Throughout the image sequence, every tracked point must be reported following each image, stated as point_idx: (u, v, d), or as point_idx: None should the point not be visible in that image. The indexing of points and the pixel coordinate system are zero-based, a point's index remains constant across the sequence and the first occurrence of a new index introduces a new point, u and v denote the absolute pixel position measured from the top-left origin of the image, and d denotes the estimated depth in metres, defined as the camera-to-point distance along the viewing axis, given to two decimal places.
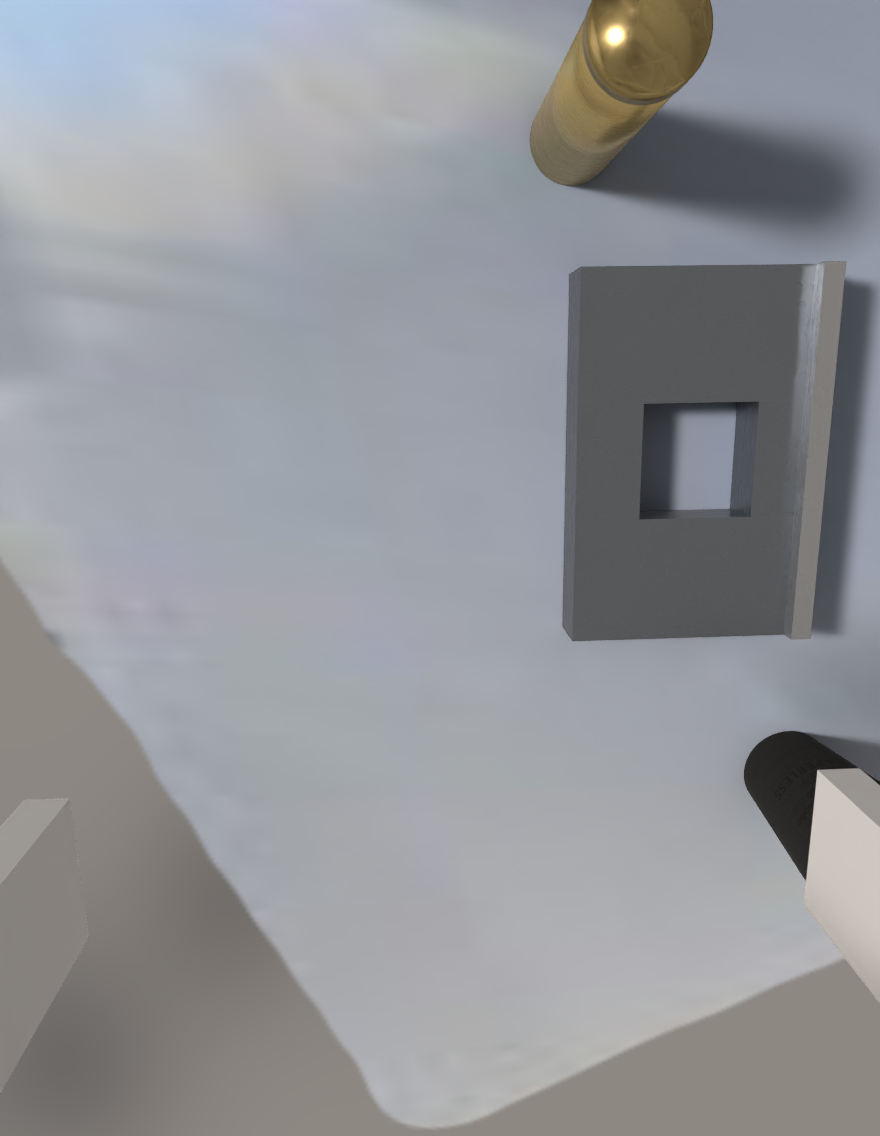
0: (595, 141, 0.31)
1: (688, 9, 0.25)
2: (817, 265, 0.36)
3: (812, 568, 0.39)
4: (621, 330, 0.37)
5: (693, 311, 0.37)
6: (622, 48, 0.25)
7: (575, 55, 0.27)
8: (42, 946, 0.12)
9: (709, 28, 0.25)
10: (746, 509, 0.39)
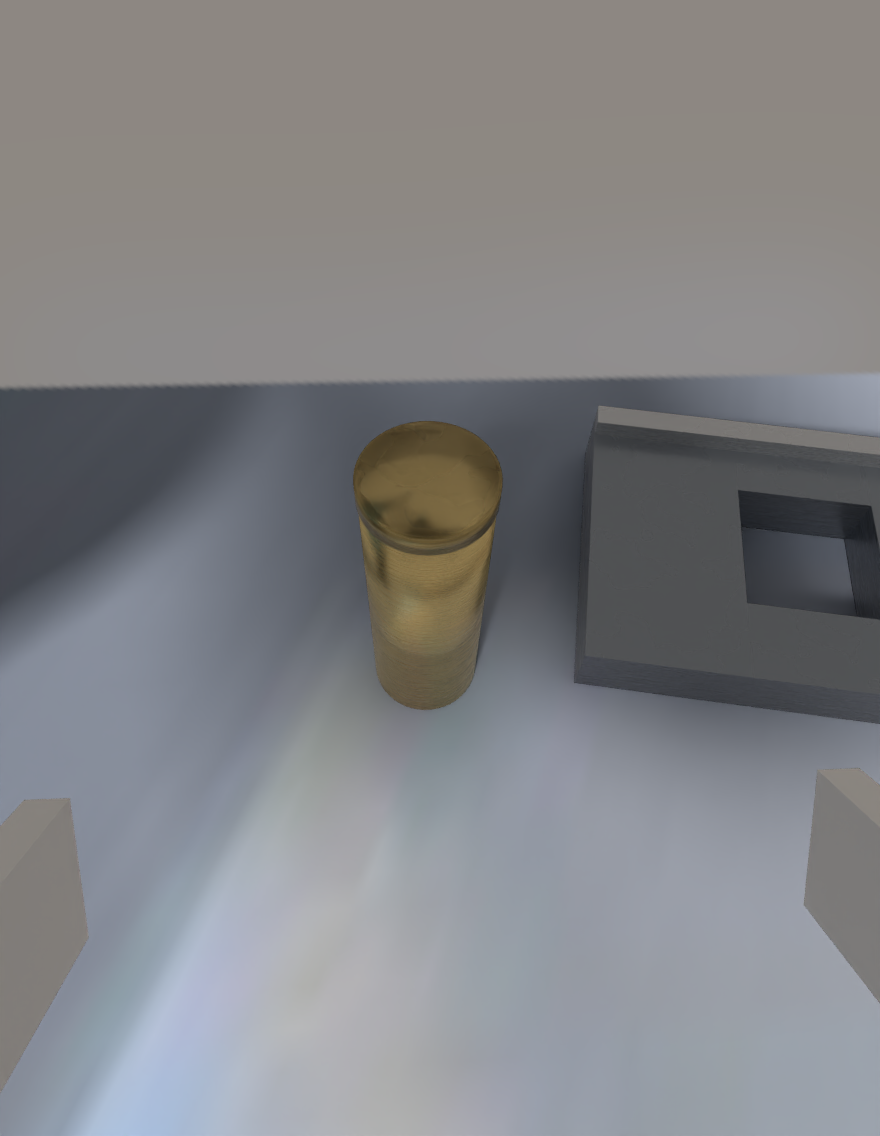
0: (483, 595, 0.26)
1: (417, 441, 0.22)
2: (596, 432, 0.35)
3: None
4: (661, 618, 0.30)
5: (640, 543, 0.32)
6: (446, 505, 0.21)
7: (420, 577, 0.22)
8: (42, 946, 0.12)
9: (439, 424, 0.23)
10: (858, 512, 0.34)
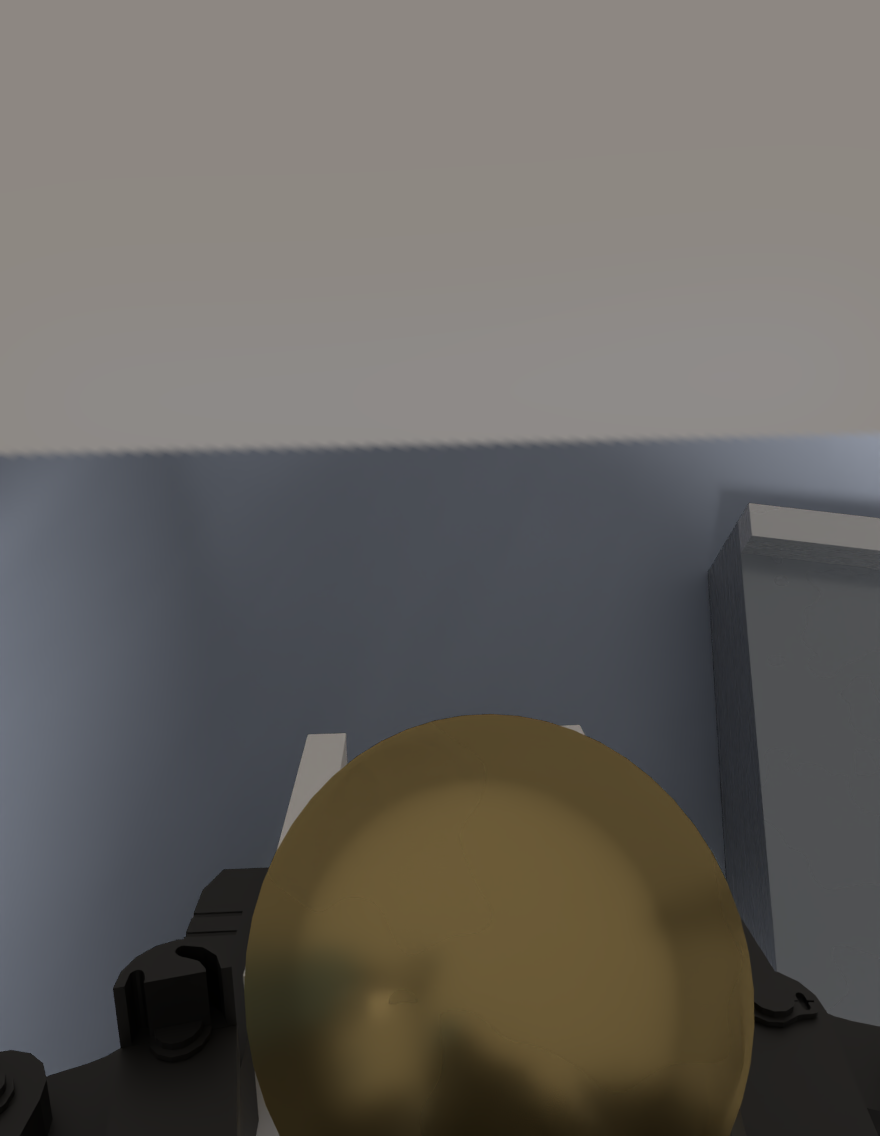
0: None
1: (457, 796, 0.07)
2: (745, 549, 0.20)
3: None
4: None
5: (855, 782, 0.17)
6: (572, 1096, 0.06)
7: None
8: None
9: (522, 727, 0.07)
10: None
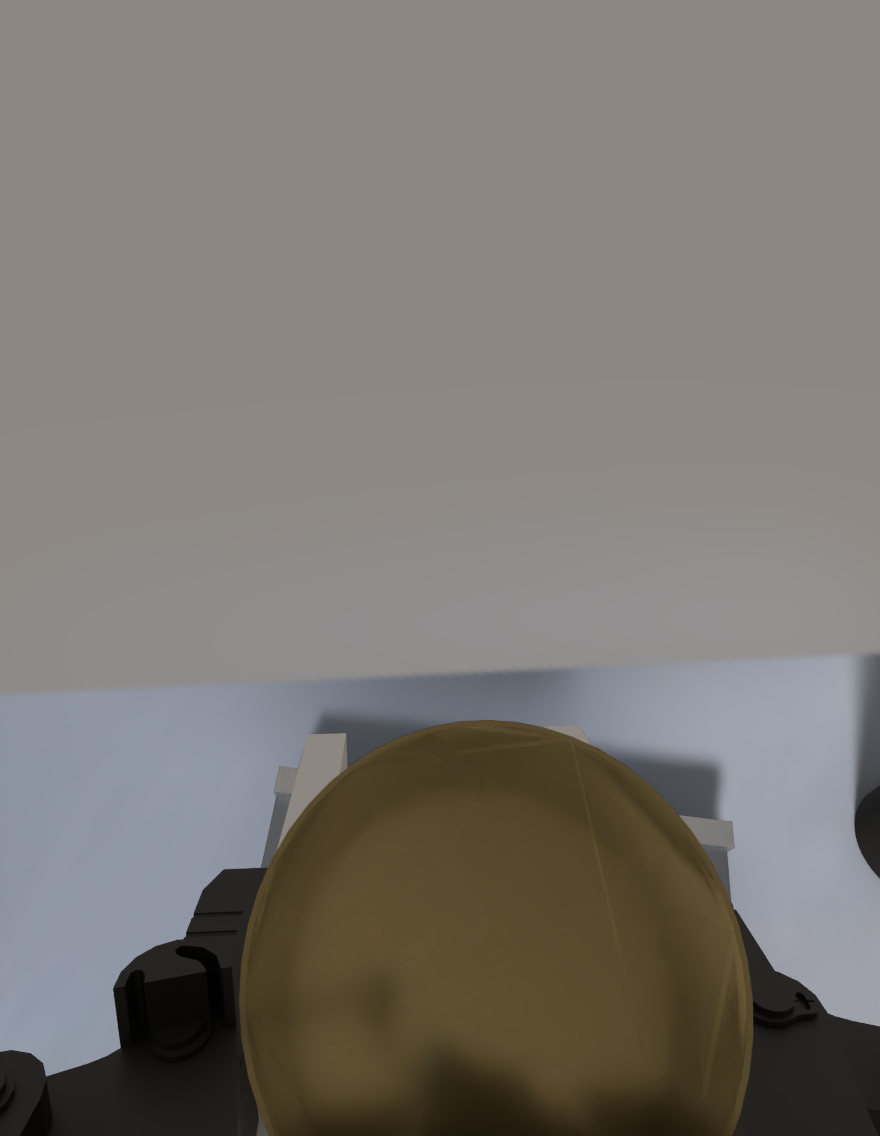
0: None
1: (454, 803, 0.07)
2: (277, 795, 0.31)
3: None
4: None
5: None
6: (569, 1106, 0.06)
7: None
8: None
9: (520, 733, 0.07)
10: None
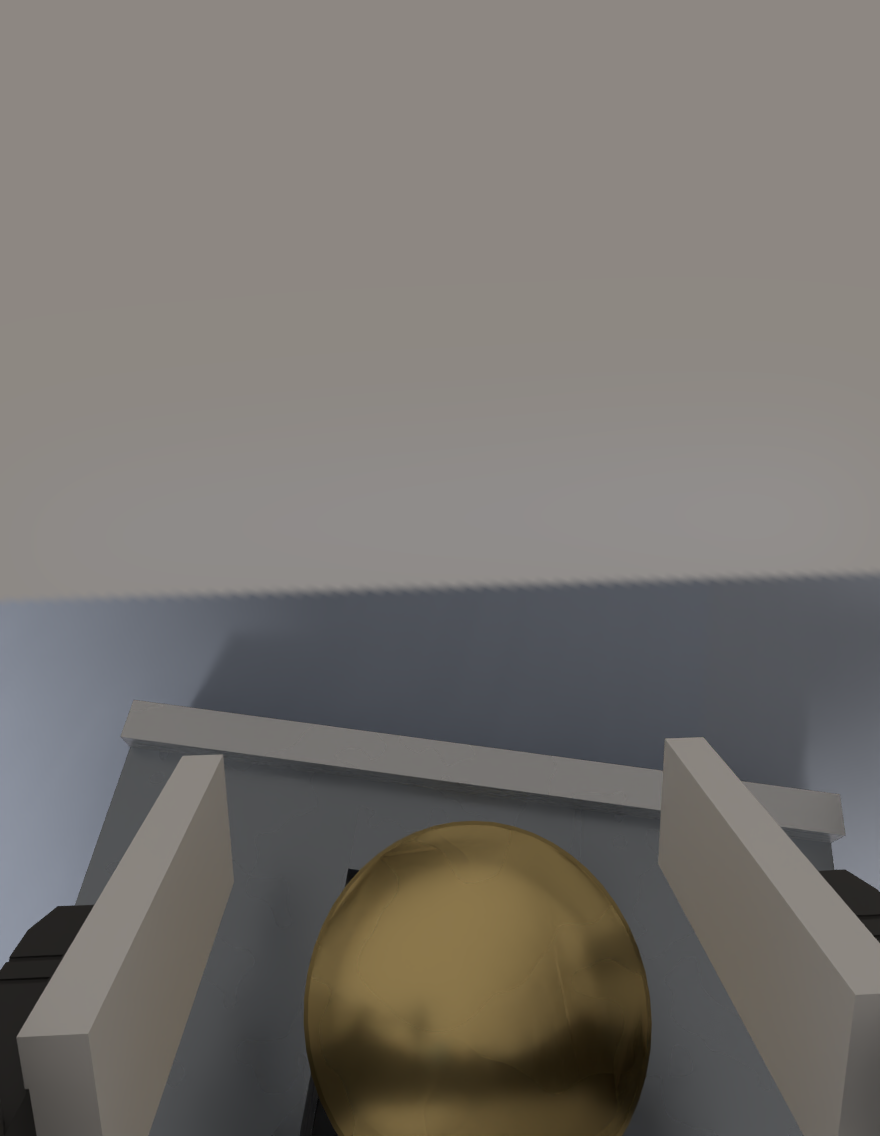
0: None
1: (449, 883, 0.10)
2: (131, 745, 0.20)
3: None
4: None
5: None
6: (525, 1095, 0.09)
7: None
8: (211, 882, 0.14)
9: (496, 831, 0.10)
10: None
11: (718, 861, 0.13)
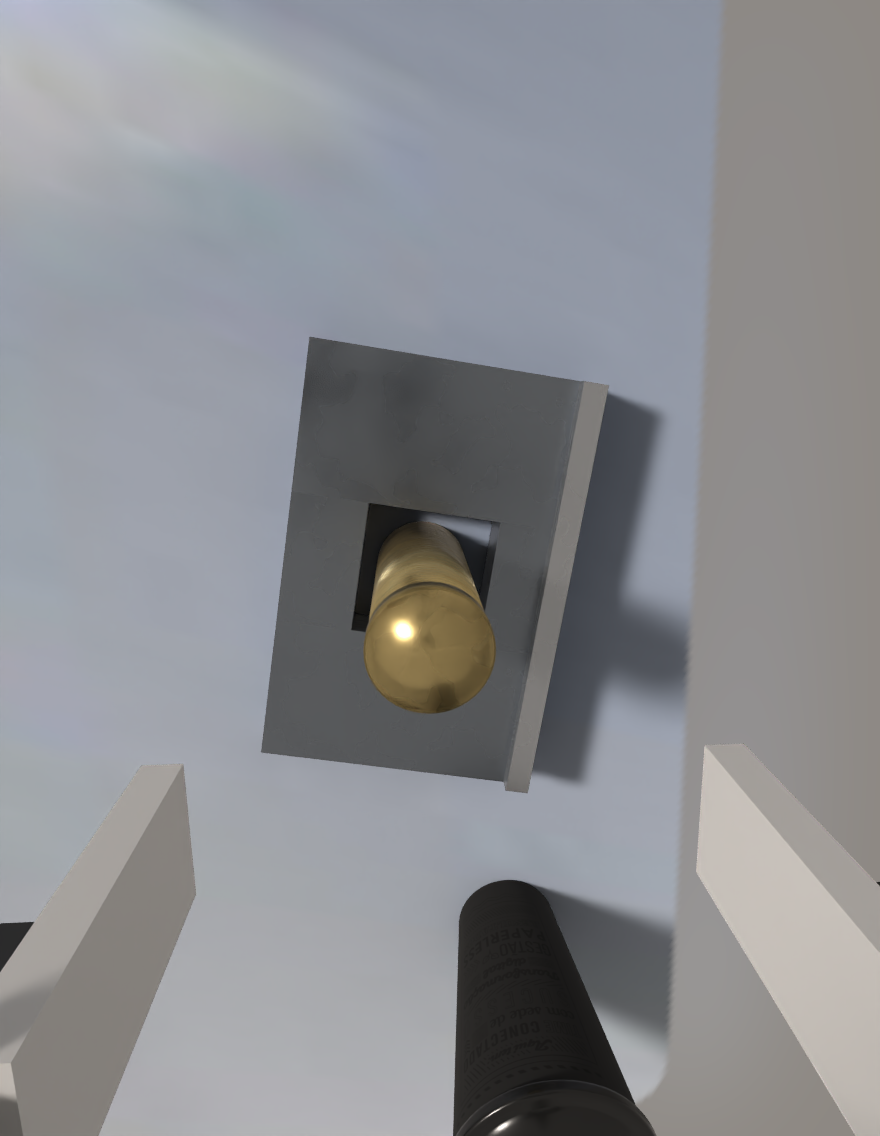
0: None
1: (471, 642, 0.24)
2: (580, 383, 0.32)
3: (537, 717, 0.34)
4: (350, 417, 0.32)
5: (435, 410, 0.32)
6: (398, 667, 0.24)
7: None
8: (167, 896, 0.13)
9: (491, 661, 0.24)
10: None
11: (768, 872, 0.12)
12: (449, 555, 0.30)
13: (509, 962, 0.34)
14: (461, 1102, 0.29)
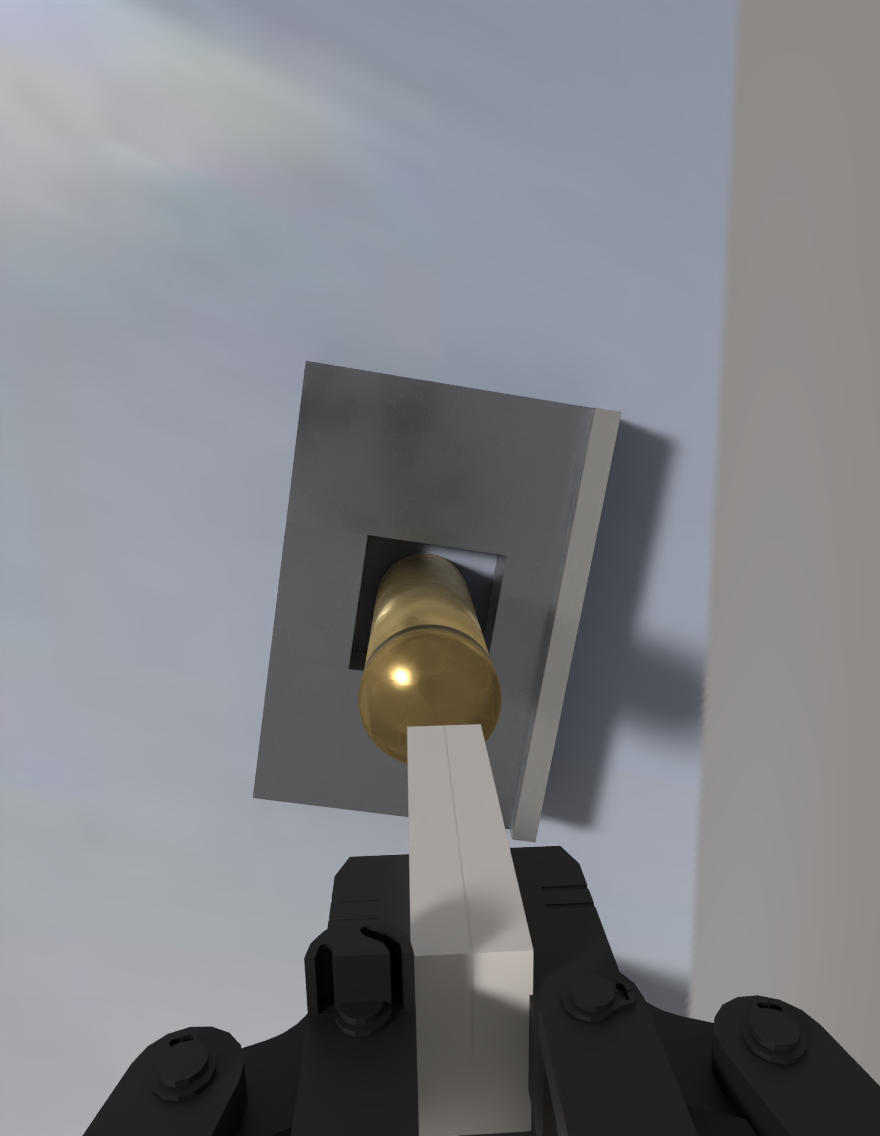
0: None
1: (475, 691, 0.22)
2: (591, 410, 0.30)
3: (545, 761, 0.32)
4: (348, 445, 0.30)
5: (438, 437, 0.30)
6: (396, 717, 0.22)
7: None
8: None
9: (496, 712, 0.23)
10: None
11: None
12: (452, 592, 0.28)
13: None
14: None
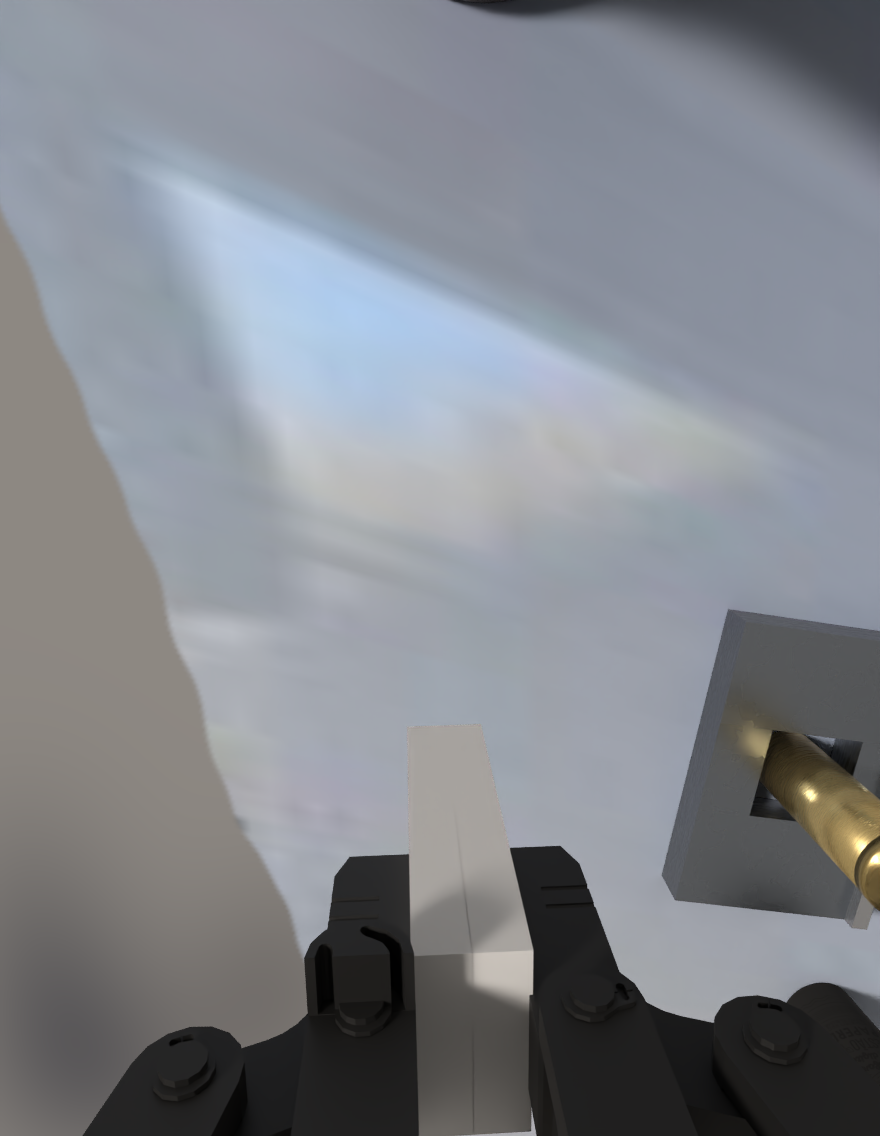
0: None
1: None
2: None
3: None
4: (767, 673, 0.45)
5: (826, 668, 0.45)
6: None
7: (841, 849, 0.39)
8: None
9: None
10: None
11: None
12: (858, 782, 0.43)
13: (864, 1055, 0.47)
14: None
